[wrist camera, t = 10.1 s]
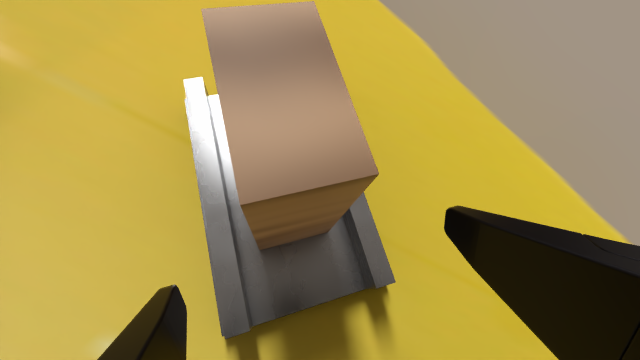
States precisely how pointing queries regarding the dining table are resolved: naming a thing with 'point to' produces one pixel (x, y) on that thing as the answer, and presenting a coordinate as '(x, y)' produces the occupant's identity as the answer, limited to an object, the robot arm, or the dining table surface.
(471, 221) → the robot arm
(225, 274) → the door track
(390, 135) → the dining table surface
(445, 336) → the dining table surface
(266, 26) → the brown wooden block
